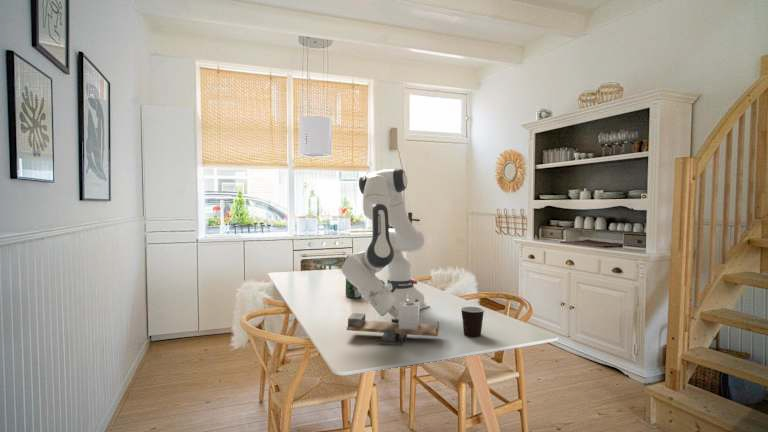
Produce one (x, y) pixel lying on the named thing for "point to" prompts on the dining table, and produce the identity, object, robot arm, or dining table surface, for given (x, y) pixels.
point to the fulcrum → (392, 336)
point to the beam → (387, 326)
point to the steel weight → (409, 315)
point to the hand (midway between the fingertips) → (398, 316)
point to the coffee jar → (352, 290)
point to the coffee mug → (472, 321)
